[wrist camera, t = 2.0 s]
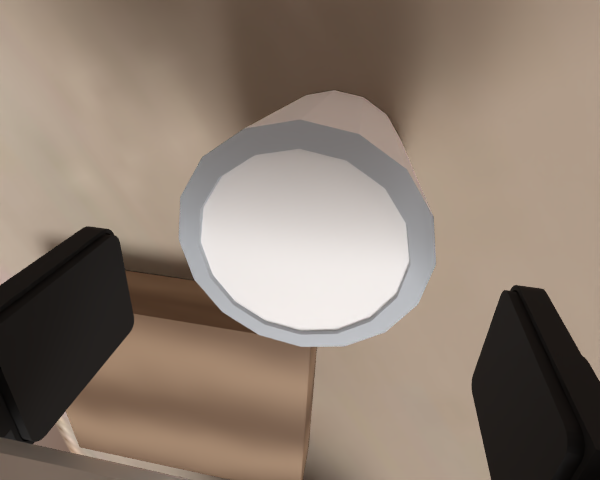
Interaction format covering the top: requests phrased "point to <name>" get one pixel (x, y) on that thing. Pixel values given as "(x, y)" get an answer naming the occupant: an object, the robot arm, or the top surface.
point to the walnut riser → (198, 390)
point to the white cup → (310, 224)
